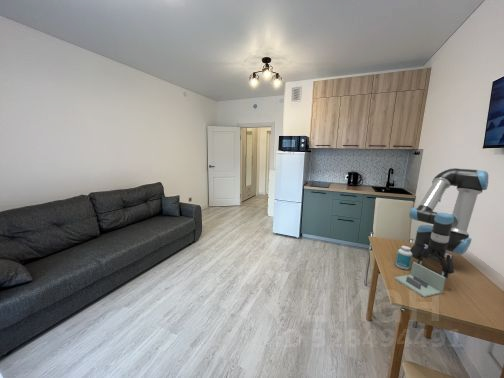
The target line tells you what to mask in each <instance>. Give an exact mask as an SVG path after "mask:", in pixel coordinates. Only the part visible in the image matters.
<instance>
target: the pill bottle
mask: <svg viewBox="0 0 504 378" xmlns="http://www.w3.org/2000/svg"><path fill="white" fill-rule="evenodd" d="M411 248H412V247H410V246H407V245H401V248H399V249H398V250H397V253H396V259H395V260H396V261H395V266H396V267H397V268H399V269H402V270H410V268H411V263H412V258H413V256H412V252H410V250H411Z"/></svg>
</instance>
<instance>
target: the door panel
mask: <svg viewBox="0 0 504 378" xmlns="http://www.w3.org/2000/svg"><path fill="white" fill-rule="evenodd" d="M421 266H423V267H425V268H427V269H429V270H431V271H433V272H435V273H437V274H439V275H442V272H443V271H444V270H443V266H442V265H441V263H440V261H437V260H436V261H435V260H432V259H430V258H428V257H426V258H424V257H423V260H422V264H421Z"/></svg>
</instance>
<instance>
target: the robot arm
mask: <svg viewBox="0 0 504 378" xmlns="http://www.w3.org/2000/svg"><path fill="white" fill-rule="evenodd" d="M431 183H432V185H431V186H430V187H429V188H428V190H427V192H426V194H425V195H424V197H423V198H422V199H421V202H420V203H419V205H418V206H417V207H411V209H410V210H409V213H408V214H409V216H408V217H409V218H410V219H411V220H415V221H418V222H421V223H427V224H422V225H419V226H418V227H417V230H416V234H415V240H414V244H413V246H412V247H410V248H411V249H410V252H412V258H414V259H417V260H418V262H417V264H419V265H421V264H422V260H423V257H424V258H426V257H428V258H430V259H432V260H435V261H437V259H438V261H439V263H441V265H442V266H443V270H444V271H443V272H442V275H441V276H443V277H445V278H446V279H448V277H449V275H451V274H454V273H455V270H454V263H453V260H452V259H453V254H457V255H458V254H459V255H463V254H466V252H467V251H468V249H469V247H470V245H471V243H472V238H471V237H469V236H470V234H469V232H468V229H469V224H470V222H471V218H472V214H473V211H474V208H475V205H476V202H477V198H478V195H480V194H482V193H483V191H487V189H488V186H489V173H488V172H487V170H486V171H485V170H480V169H468V168H455V167H453V168H449V169H445V170H444V171H441V172H440V173H438V174H437V175H436V176H434V178H433V179H432V182H431ZM451 186H452V187H456V190H457V191H458V193H457V196H456V197H457V198H456V200H455V204H454V207H453V211H452V213H447V212H436V211H434V210H435V208H436V207H437V205H438V203H439V202H440V200H441V198H442V197H443V195H444V193H445V191H446V189H449V188H450V187H451ZM429 224H430V225H429ZM447 251H449V252H452V253H453V254H452V253H451V254H449V253H448V252H447Z"/></svg>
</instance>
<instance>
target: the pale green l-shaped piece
mask: <svg viewBox="0 0 504 378" xmlns="http://www.w3.org/2000/svg"><path fill="white" fill-rule="evenodd" d="M393 278H394V280H395V281H397V282H398V283H400V284H401V285H403V286H405V287H406V288H407V289H410V290H411V291H413V292H415V293H416V294H418V295H419V296H420V297H422V296H423V297H422V298H426V297H425V296H429V297H432V296H431V295H433V296H437V295H441V294H444V293H443V292H444V291H443V290H444V287H445V284H446V279H447V278H445V277H443V276H441V275H439V274H437V273H435V272H433V271H431V270H429V269H427V268H425V267H423V266H421V265H419V264H418V262H415V261H413V262H412V265H411V270H410V274H407V275H400V276H395V277H393ZM436 294H437V295H436Z"/></svg>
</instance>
